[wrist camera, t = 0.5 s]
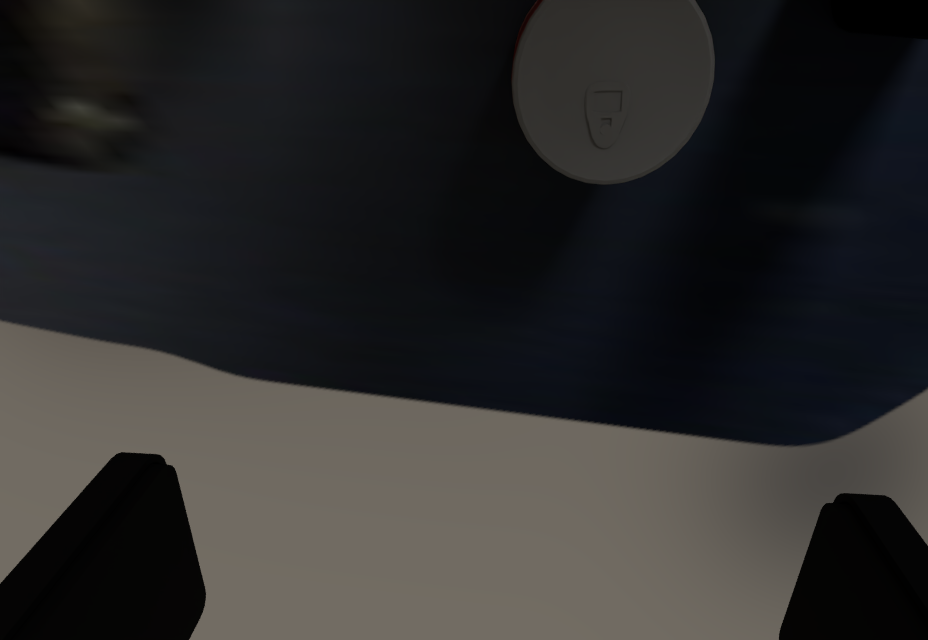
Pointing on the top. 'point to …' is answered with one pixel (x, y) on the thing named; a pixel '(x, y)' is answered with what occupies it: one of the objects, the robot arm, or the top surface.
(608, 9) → the canned food
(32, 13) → the top surface
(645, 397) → the top surface
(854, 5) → the wine bottle
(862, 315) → the top surface
